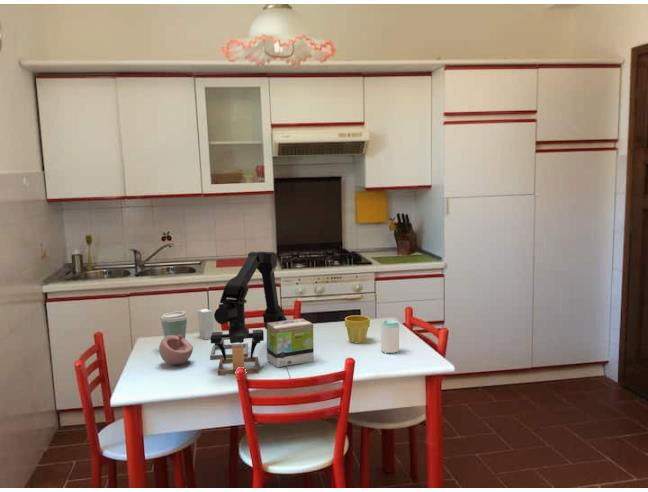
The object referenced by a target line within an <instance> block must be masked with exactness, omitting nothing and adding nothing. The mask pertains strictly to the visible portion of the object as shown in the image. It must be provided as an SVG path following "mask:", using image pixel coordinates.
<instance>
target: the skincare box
mask: <svg viewBox="0 0 648 492" xmlns="http://www.w3.org/2000/svg"><path fill="white" fill-rule="evenodd" d="M197 320H198V332H199V338H201V339H203V340H206V339H208V340H211V334H212V333H213V332H215V331H214V328H215V327H214V315H213V310H210V309H209V308H208V309H207V308H203V309H197Z"/></svg>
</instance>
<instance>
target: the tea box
mask: <svg viewBox="0 0 648 492" xmlns="http://www.w3.org/2000/svg"><path fill="white" fill-rule="evenodd" d="M266 361H268V362H269V363H270V364H271V365H272V366H274V367H275V368H281V367H284V366H285V367H286V366H292V365H298V364H306V363H312V362H314V323H312V322H310V321H308V320H306V319H304V318H294V319H287V320H286V321H279V322H271V323H267V329H266Z"/></svg>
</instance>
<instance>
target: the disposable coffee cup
mask: <svg viewBox="0 0 648 492" xmlns="http://www.w3.org/2000/svg"><path fill="white" fill-rule="evenodd" d="M187 321H188V314H187V312H186V311H184V310H177V311H172V312H167V313H164V314H162V315H161V317H160V323H161V328H162V333H163V338H164V337H166V336H168V335H176V336H178V335H179V334H180V335H182V336H183V338H184V339H186V334H187V333H186V332H187V325H188V323H187Z"/></svg>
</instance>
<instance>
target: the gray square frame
mask: <svg viewBox="0 0 648 492" xmlns="http://www.w3.org/2000/svg"><path fill="white" fill-rule="evenodd" d="M241 344H242V343H230V344H224V345H225V350H229V349H230V350H232V346H233V345H241ZM243 344H244V357H249V353H248V352H249V343H243ZM216 350H220V348H219V347H218V346H217V345H215V344H214V345H213V344H212V347H211V351H210V354H209V357H210V361H211V360H212V361H213V360H220V359H223V358H224V357H223V354H222V353H221V354H215V353H216ZM226 358H232V353H226Z"/></svg>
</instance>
